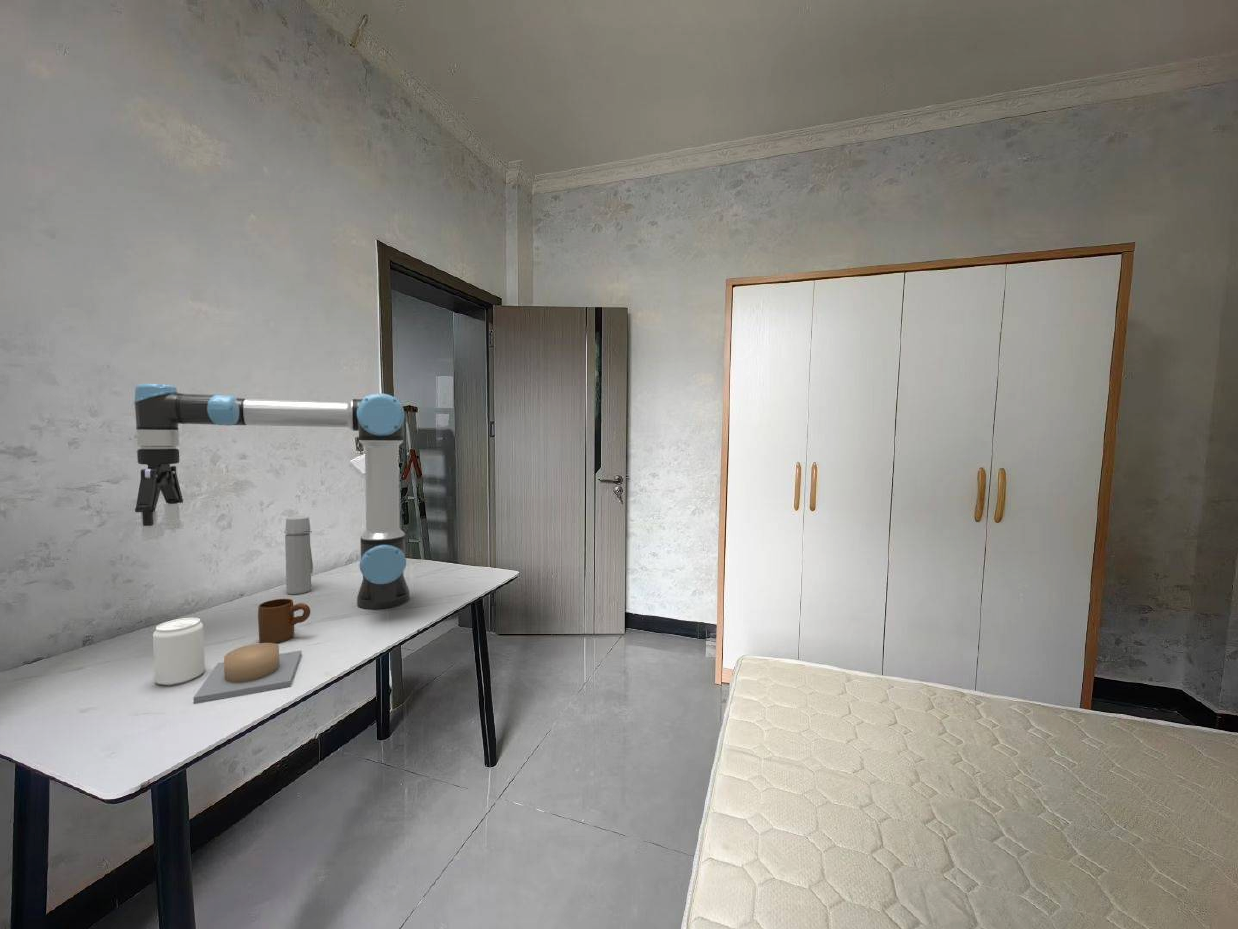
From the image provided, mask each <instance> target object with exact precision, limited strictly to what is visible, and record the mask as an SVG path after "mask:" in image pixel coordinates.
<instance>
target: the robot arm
mask: <svg viewBox="0 0 1238 929" xmlns="http://www.w3.org/2000/svg"><path fill="white" fill-rule="evenodd" d="M134 389H135V391H134V401H133V402H134V403H133V404H134V412H135V425H136V426H135V427H136V433H134V435H133V437H134V438H135V439H136V446H137V447H140V448H138V449H137V450H136V456H137V457H136V458H137V463H138V465H144V466H145V465H147V469H146V468H145V469H143V468H142V469H140V481H139V486H138V487H139V488H138V493H137V499H136V503H135V504H136V506H135V508H134V512H135V513H140V520H141V521H140V522H141V525H140V526H141V540H142V541H143V540H158V539H159V537H160V536H159V520H158V519H159V515H158V510H156V509H157V504H158V503H159V502H158V501H159V497H160V494H162V496H163V499H164V501H165V504H164V505H163V506H164V507H163V508H164V525H165V526H164V529H165V530H178V529H181V524H180V522H181V519H180V504H182V503H183V502H184V499H183V496H182V490H181V487H180V483H179V479H178V474H177V467H176V465H175V464H179V463H180V449H178V448H177V447H179V446H180V438H179V435H180V433H179V424H180V425H181V424H182V425H187V424H188V425H208V426H209V425H214V426H215V425H216V426H226V427H227V426H263V427H265V426H266V427H267V426H268V427H271V426H272V427H274V426H275V427H310V428H311V427H316V428H317V427H318V428H321V427H324V428H349V429H350V430H351V431H353V432H355V431H357V432H358V442H359V443H360V444H362V446H363V447H364V469H365V470H364V471H365V472H364V473H365V477H364V480H365V525H366V526H365V528H366V530H365V531H363V533H362V534H361V535H360V561H359V570H360V573H361V574H362V582H361V585H360V587H359V591H358V593H357V596H356V605H357V607H359V608H362V609H367V610H379V609H390V608H393V607H396V606H400V605H402V604H406V602H408V601H409V600H410V598H411V597H410V595H411V594H410V589H409V586H408V583H407V581H406V578H405V576H404V571H405V569H406V566H407V558H406V544H405V543H406V541H405V534H406V533H405V532H404V531H403V530H402V529H400V513H399V512H400V510H399V509H400V508H399V507H400V506H399V505H400V502H399V500H400V499H399V498H400V497H399V495H400V493H399V491H400V490H399V447H400V445H401V444H402V443H404V421H405V410H404V407H403V405H402V404H401V402H400V401H399V400H398V399H397V398H396V397H394V396H393V395H391V394H388V393H382V392H381V393H371V394H369V395H366V396H365V397H364V398H361V399H360V398H351V399H350V400H349V401H327V400H325V401H323V400H322V401H320V400H300V399H299V400H298V399H297V400H294V399H267V398H266V399H263V398H239V397H235V396H232V395H224V394H204V393H203V394H200V393H199V394H195V393H180V392H179V391H178V390H177V387H176V386H175V385H172V384H163V383H162V384H161V383H139V384H137V385H136V386H135V388H134ZM183 504H184V503H183Z"/></svg>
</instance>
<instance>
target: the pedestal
mask: <svg viewBox="0 0 1238 929" xmlns="http://www.w3.org/2000/svg"><path fill="white" fill-rule="evenodd" d="M301 658H302V650H296V651H289V652H284V653H283V652H282V653H280V647H279V644H278V643H261V642H258V643H251V644H247V645H244V646H241V647H237V648H235V649H232V650H231V651H229V652H228V653H226V654H225V655H224V656H223V661H222V662H217V664H216V665H215V666H214V668H213V669H212V670H211V672H210V674H209V675H208V676H207V677H206V679H205V680H204V681H203V683H202V685H201V687H200V688H198V691H197V692H196V693H195V695H194V696H193V704H198V703H204V702H209V701H210V702H211V701H216V700H221V699H225V698H231V697H238V696H244V695H249V694H255V693H261V692H266V691H272V690H273V691H274V690H277V689H283V688H289V687H291V685H292V683H293V680H294V678H295V675H296V673H297V672H296V671H297V669H298V666H299V664H300V661H301Z"/></svg>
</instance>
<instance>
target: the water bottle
mask: <svg viewBox="0 0 1238 929" xmlns="http://www.w3.org/2000/svg"><path fill="white" fill-rule="evenodd" d="M283 533H284V534H285V535H284V541H285V542H284V543H285V546H284V548H285V578H286V579H285V582H286V587H285V588H286V593H287V594H289V595H301V594H305V593H308V592H310V591H311V589H312V574H313V570H314V564H313V555H312V548H311V534H312V533H313V531H311V523H310V517H309V516H306V515H302V516H301V515H299V516H289V517H287V518H285V531H284V532H283Z"/></svg>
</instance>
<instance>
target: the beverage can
mask: <svg viewBox="0 0 1238 929" xmlns="http://www.w3.org/2000/svg"><path fill="white" fill-rule="evenodd" d="M204 635H205V634H204V624H203V623H202V622H201V619H200V618H198V617H184V618H176V619H172V620H168V621H166V622H162V623H160V624H158V625H157V626H156V627H155V630H154V632H153V634H152V640H153V641H152V646H153V670H154V682H155V683H156V684H158V685H166V686H167V685H168V686H172V685H179V684H183V683H186V682H189V681H191V680H193V679H195V678H198V677H199V676H200V675H202V674H203V673H204V672H205V670H206V666H205V665H206V663H205V662H206V661H205V636H204Z"/></svg>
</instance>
